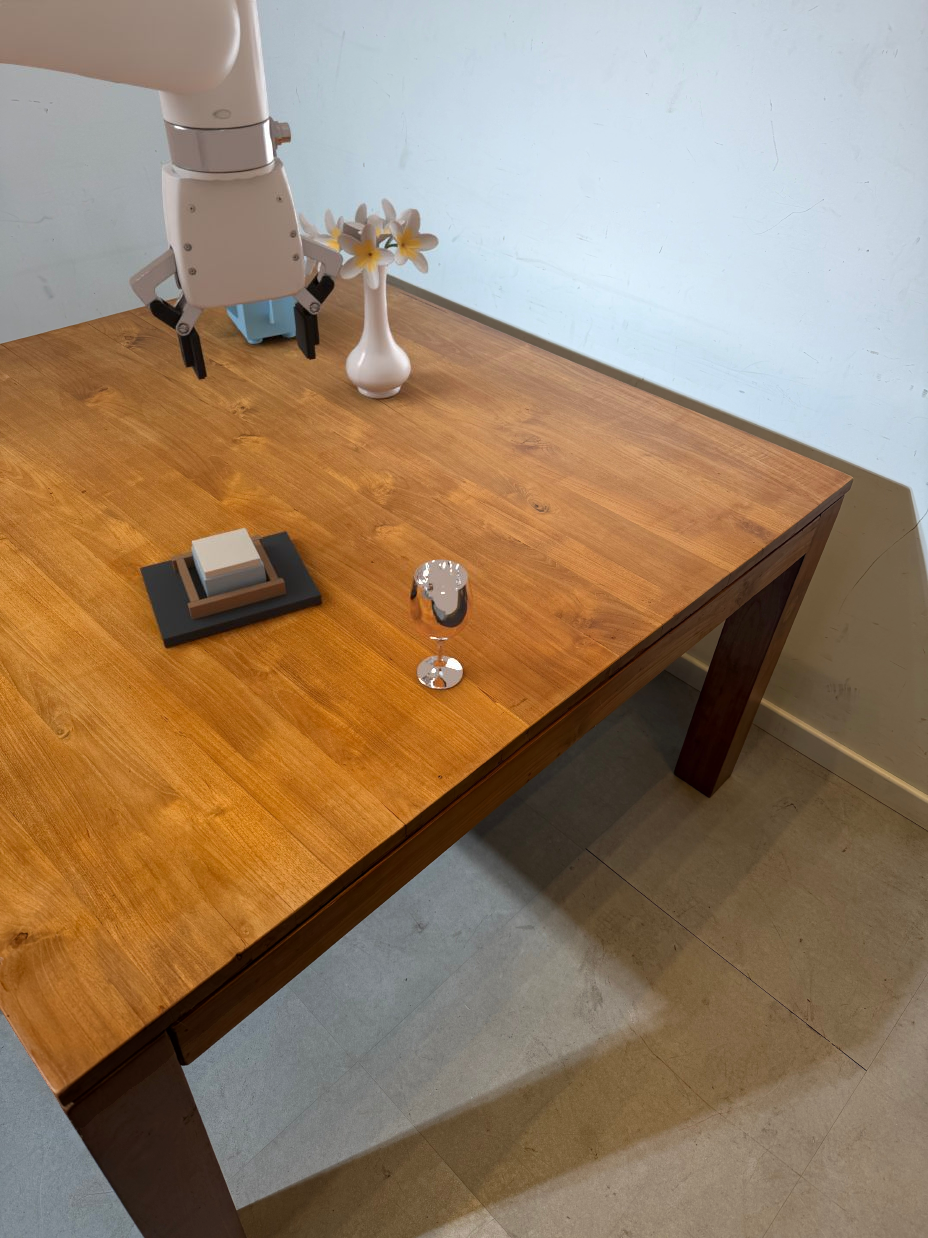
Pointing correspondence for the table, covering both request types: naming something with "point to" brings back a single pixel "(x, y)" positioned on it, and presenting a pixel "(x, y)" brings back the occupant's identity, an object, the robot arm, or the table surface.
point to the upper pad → (227, 562)
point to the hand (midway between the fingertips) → (254, 362)
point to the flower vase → (375, 287)
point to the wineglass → (440, 616)
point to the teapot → (265, 318)
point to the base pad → (197, 616)
